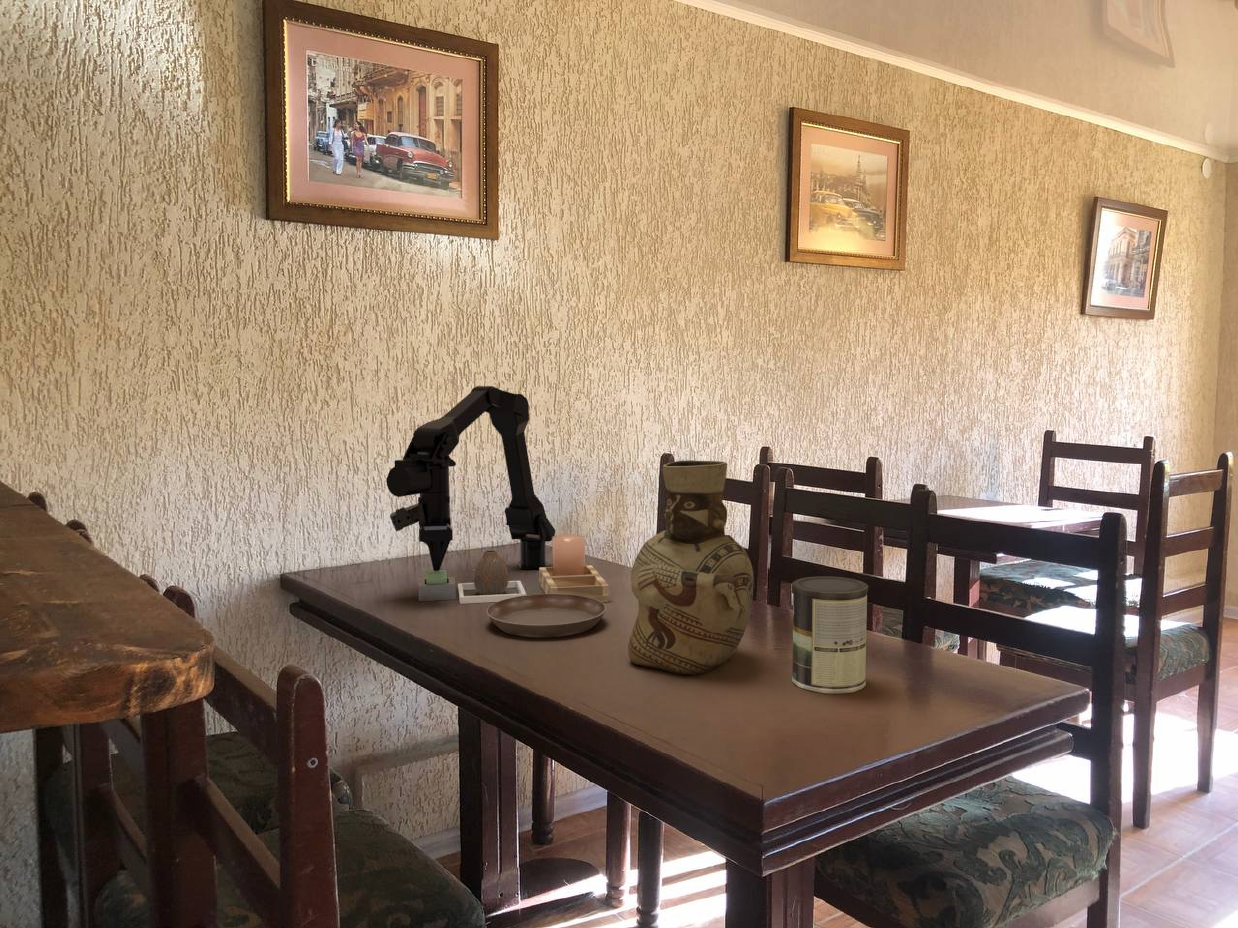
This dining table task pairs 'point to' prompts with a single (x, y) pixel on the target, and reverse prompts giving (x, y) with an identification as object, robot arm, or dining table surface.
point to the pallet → (575, 584)
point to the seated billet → (568, 555)
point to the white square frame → (488, 598)
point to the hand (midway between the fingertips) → (436, 570)
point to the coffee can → (829, 634)
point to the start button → (436, 577)
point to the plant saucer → (546, 614)
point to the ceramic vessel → (691, 578)
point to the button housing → (436, 590)
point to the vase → (490, 574)
